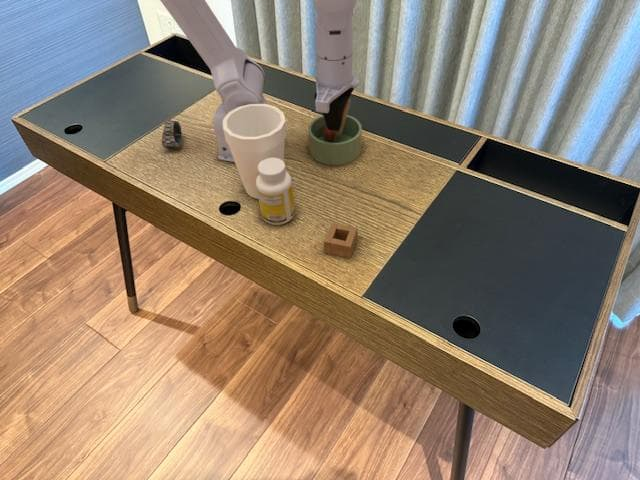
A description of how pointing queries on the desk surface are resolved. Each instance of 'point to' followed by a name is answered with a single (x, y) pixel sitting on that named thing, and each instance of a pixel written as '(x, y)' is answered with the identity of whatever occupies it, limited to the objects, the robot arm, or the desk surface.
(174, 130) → the wristwatch
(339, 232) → the stand
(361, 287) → the desk surface
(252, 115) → the foam cup
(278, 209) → the supplement bottle
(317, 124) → the bowl
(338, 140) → the stick
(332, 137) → the bead
